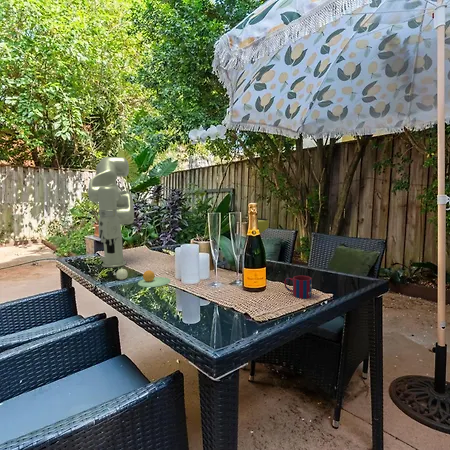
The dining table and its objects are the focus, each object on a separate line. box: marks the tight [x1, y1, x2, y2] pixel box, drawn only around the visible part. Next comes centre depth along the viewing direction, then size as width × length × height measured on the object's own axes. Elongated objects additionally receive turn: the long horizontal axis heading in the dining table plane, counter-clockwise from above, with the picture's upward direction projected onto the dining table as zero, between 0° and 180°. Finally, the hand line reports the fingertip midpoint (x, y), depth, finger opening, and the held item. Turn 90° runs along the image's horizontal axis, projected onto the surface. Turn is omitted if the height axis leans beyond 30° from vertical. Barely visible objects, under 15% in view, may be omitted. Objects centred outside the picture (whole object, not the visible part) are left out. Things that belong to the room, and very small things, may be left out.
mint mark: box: [137, 276, 171, 288], centre depth 136 cm, size 14×14×1 cm
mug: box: [283, 275, 313, 300], centre depth 115 cm, size 7×10×7 cm
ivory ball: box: [115, 268, 129, 281], centre depth 141 cm, size 5×5×5 cm
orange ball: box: [142, 270, 156, 282], centre depth 137 cm, size 5×5×5 cm
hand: (111, 252), depth 144 cm, fingers closed
